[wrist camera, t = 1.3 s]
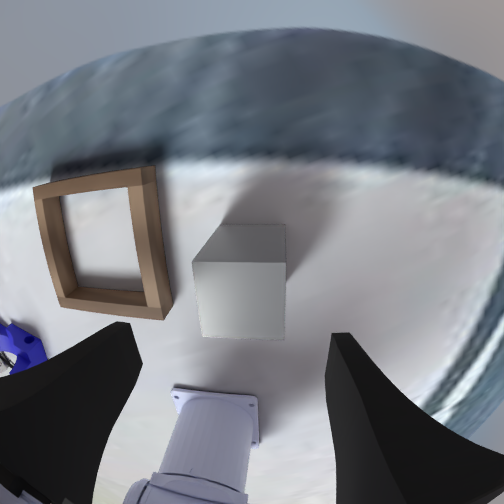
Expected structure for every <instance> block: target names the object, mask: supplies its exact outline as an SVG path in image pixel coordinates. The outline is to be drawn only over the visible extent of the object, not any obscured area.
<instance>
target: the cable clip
mask: <svg viewBox="0 0 504 504" xmlns="http://www.w3.org/2000/svg"><path fill="white" fill-rule="evenodd" d="M0 351H6V352H10V353H13V354H15V355H16V356H17V360H16V363H15V365H14V367H13V368H12V370H11V371H10V372H9V374H10V375H11V374H14V373H17V372H20V371H23V370H26V369H28V368H31V367H33V366H36V365H38V364H40V363H42V362H44V361H47V360H48V359H47V356H46V353H45V351H44V348H43V345H42V342H41V339H39V338H37V337H35V336H33V335H31V334H29V333H28V332H26V331H24V330H22V329H20V328H19V327H17V326H15V325H14V324H12V323H11V324H10V325H9V326H8V327H5V326H3V325H2V324H0Z"/></svg>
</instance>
